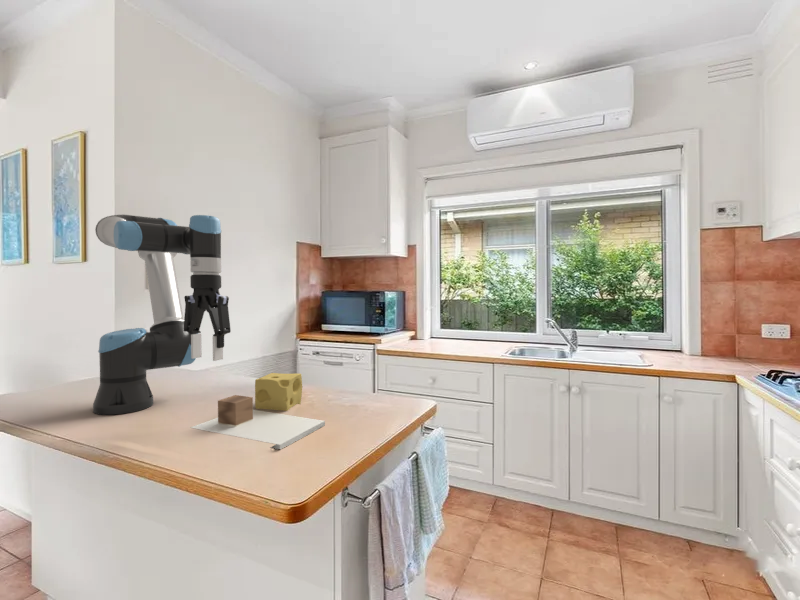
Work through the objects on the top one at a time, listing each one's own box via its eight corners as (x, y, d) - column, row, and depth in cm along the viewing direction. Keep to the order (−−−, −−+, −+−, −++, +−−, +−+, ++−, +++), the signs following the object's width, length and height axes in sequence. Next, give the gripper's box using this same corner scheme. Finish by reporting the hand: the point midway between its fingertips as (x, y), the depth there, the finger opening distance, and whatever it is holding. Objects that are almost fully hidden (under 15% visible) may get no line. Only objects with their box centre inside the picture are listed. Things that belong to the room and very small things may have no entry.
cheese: (287, 415, 119) (286, 380, 118) (252, 412, 121) (252, 378, 120) (302, 405, 129) (302, 373, 128) (270, 403, 131) (270, 371, 131)
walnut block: (218, 423, 108) (217, 400, 107) (235, 416, 113) (235, 395, 113) (235, 426, 105) (235, 403, 105) (252, 419, 111) (252, 397, 110)
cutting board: (190, 432, 105) (190, 427, 105) (243, 412, 121) (243, 408, 121) (280, 450, 94) (280, 444, 94) (324, 425, 110) (324, 420, 110)
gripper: (167, 273, 112) (168, 358, 113) (223, 273, 104) (224, 364, 105) (190, 274, 119) (192, 354, 120) (245, 274, 111) (245, 359, 112)
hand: (207, 358), depth 113 cm, fingers open, 7 cm apart
